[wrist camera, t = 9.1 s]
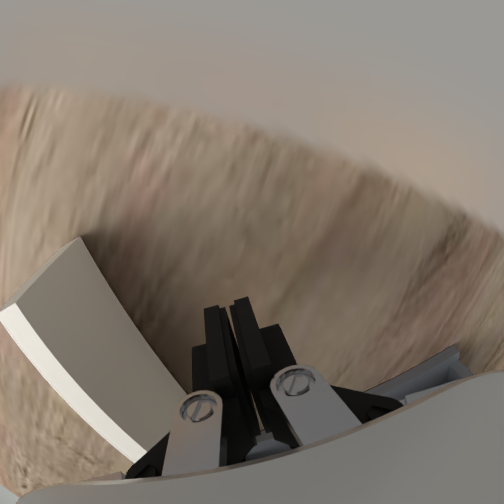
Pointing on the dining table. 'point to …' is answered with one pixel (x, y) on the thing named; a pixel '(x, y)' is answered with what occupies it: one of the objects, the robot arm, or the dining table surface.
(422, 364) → the cabinet
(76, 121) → the dining table surface
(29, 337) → the door
